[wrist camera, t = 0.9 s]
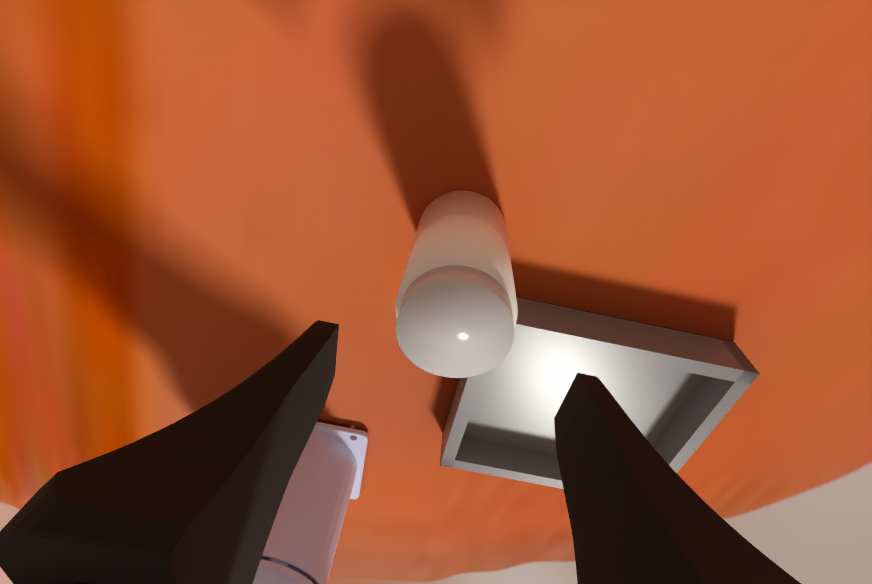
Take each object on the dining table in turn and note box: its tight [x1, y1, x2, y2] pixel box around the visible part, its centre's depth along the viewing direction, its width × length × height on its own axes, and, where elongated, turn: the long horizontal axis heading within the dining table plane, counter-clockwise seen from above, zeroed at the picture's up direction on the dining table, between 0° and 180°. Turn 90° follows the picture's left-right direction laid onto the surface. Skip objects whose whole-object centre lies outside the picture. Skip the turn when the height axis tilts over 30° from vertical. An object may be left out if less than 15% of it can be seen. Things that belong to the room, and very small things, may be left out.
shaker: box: [396, 190, 518, 378], centre depth 18 cm, size 4×4×8 cm
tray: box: [440, 297, 759, 489], centre depth 25 cm, size 14×12×2 cm
